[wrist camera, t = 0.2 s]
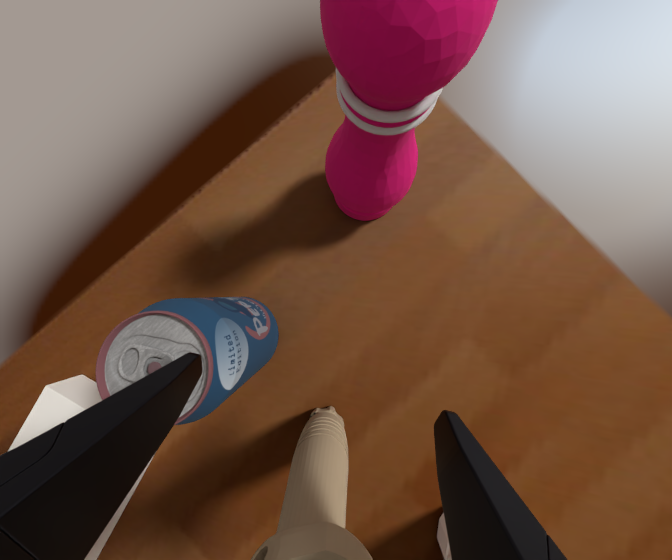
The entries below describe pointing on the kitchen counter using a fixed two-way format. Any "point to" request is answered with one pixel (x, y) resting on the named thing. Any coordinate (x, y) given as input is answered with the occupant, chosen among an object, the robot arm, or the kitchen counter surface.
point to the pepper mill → (390, 88)
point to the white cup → (443, 539)
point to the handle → (316, 498)
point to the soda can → (191, 347)
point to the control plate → (57, 408)
